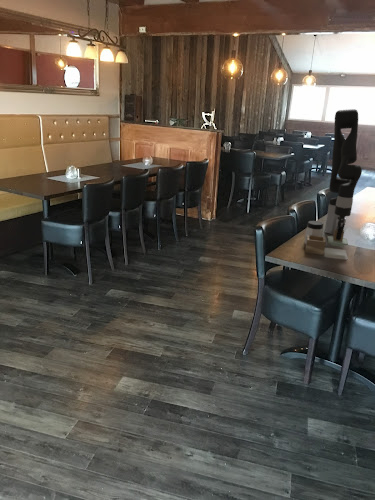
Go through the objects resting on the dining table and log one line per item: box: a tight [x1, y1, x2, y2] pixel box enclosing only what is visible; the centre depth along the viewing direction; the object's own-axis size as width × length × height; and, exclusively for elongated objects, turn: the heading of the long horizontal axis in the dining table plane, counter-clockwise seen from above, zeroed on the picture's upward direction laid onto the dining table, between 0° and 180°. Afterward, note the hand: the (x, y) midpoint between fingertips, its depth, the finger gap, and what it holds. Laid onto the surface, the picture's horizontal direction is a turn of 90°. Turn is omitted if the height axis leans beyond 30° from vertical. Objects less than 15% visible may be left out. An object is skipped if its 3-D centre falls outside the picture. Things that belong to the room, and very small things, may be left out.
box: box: [304, 235, 327, 256], centre depth 214 cm, size 9×9×7 cm
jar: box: [303, 220, 324, 245], centre depth 225 cm, size 9×8×12 cm
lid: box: [327, 229, 349, 248], centre depth 209 cm, size 9×9×7 cm
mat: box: [324, 247, 348, 261], centre depth 212 cm, size 15×11×1 cm
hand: (337, 238), depth 210 cm, fingers closed on lid, 3 cm apart
